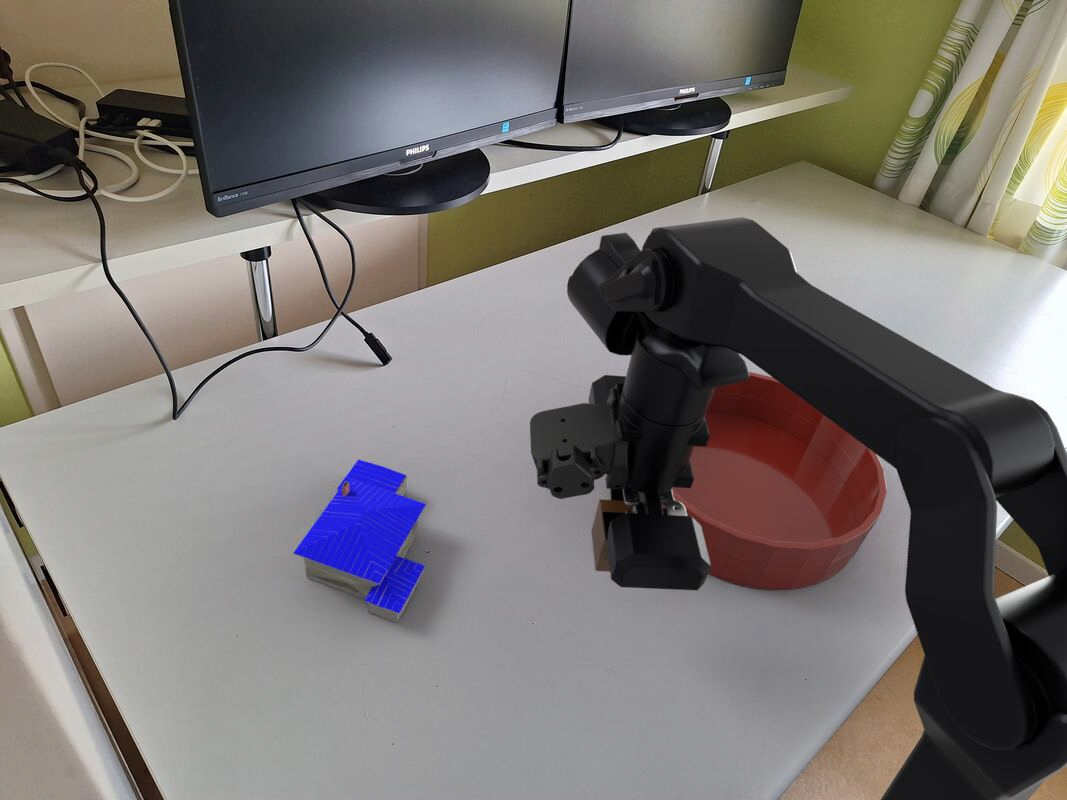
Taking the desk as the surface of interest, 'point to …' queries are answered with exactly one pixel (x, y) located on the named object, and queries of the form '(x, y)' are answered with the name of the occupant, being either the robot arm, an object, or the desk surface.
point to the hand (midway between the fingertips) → (620, 543)
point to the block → (599, 531)
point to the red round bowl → (779, 488)
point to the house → (367, 540)
